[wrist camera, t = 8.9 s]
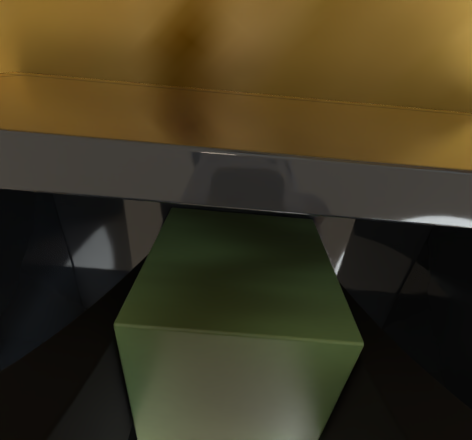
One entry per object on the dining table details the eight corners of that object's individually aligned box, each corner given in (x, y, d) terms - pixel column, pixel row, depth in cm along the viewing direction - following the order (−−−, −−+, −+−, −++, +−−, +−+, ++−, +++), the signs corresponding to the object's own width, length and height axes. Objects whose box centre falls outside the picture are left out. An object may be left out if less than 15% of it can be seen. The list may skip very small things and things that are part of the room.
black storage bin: (490, 113, 8) (904, 208, 3) (365, 359, 14) (435, 534, 9) (15, 71, 8) (-398, 94, 3) (90, 337, 14) (-3, 503, 8)
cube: (313, 218, 9) (366, 345, 5) (288, 316, 11) (311, 456, 7) (170, 206, 9) (111, 324, 5) (175, 307, 11) (137, 443, 7)
